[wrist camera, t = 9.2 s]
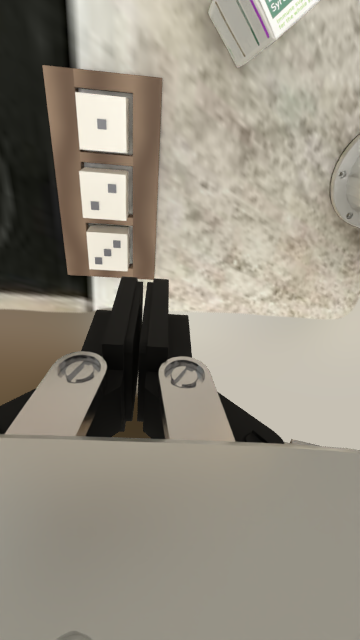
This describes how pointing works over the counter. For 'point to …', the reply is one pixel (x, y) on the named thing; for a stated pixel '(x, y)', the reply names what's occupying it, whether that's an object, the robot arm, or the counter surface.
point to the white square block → (108, 247)
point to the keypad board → (72, 159)
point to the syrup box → (254, 23)
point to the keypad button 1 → (103, 122)
